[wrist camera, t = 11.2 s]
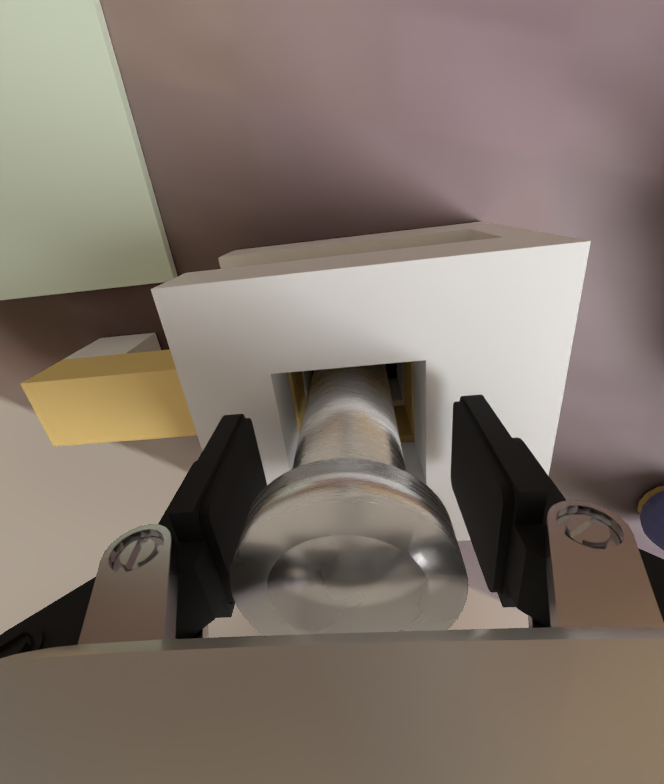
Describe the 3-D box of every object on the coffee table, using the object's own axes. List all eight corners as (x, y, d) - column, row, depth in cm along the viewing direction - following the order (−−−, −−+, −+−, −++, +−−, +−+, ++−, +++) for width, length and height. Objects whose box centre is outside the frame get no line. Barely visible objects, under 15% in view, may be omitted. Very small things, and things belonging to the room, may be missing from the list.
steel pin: (301, 303, 19) (202, 510, 6) (391, 294, 18) (474, 496, 6) (313, 383, 21) (255, 662, 8) (395, 376, 20) (463, 659, 8)
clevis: (72, 268, 18) (-119, 318, 11) (481, 221, 17) (590, 240, 9) (141, 441, 23) (40, 561, 15) (470, 416, 21) (537, 536, 14)
